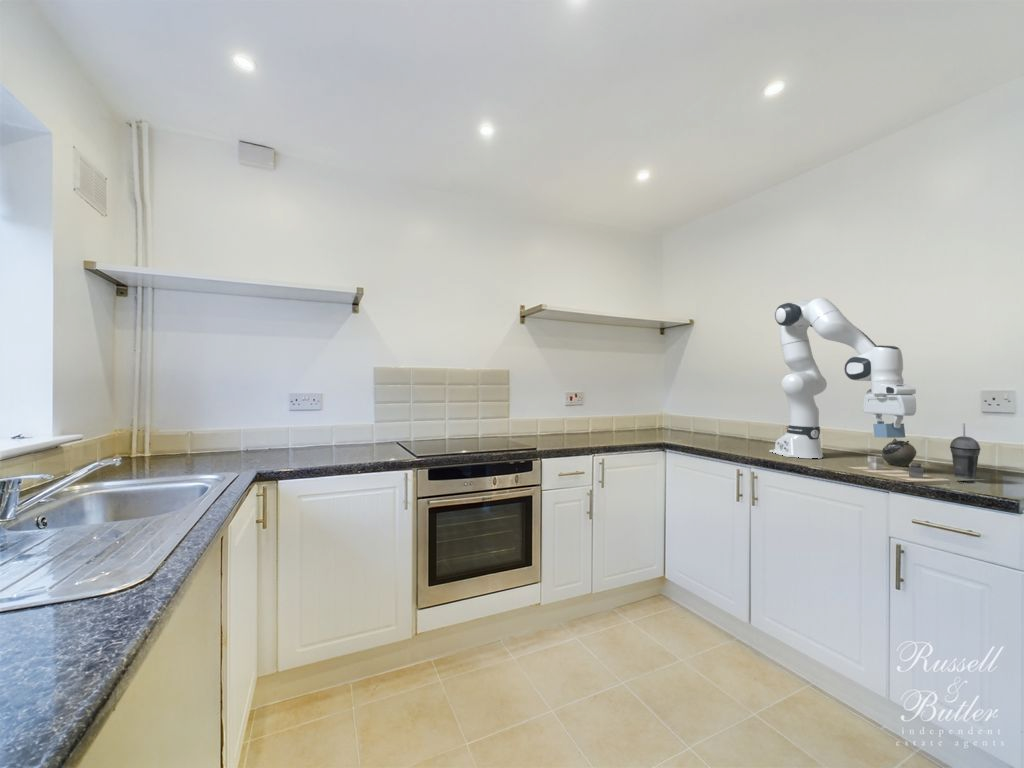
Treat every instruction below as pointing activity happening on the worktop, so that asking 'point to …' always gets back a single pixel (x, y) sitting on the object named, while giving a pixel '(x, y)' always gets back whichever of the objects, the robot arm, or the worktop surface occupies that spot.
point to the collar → (888, 431)
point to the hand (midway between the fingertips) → (888, 426)
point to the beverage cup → (965, 457)
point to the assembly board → (901, 472)
